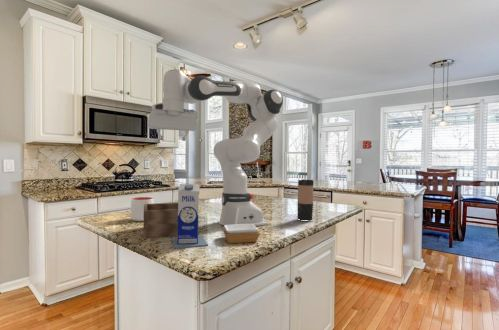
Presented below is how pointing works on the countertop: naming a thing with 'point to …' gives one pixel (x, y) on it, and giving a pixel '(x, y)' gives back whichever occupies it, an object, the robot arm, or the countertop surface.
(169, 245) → the countertop surface
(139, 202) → the cup
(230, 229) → the soap dish
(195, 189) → the milk carton
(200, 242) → the mat
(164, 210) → the crate
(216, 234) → the countertop surface
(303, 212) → the travel mug
